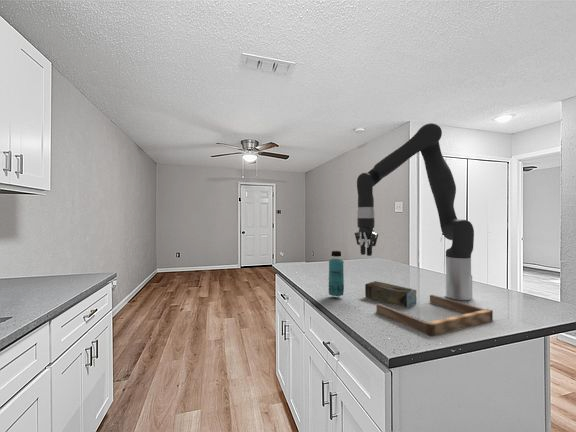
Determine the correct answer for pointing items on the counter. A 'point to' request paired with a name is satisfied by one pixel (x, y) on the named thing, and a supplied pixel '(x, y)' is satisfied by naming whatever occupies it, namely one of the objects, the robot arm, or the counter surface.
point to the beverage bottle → (336, 275)
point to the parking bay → (444, 325)
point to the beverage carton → (391, 294)
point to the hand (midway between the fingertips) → (366, 254)
